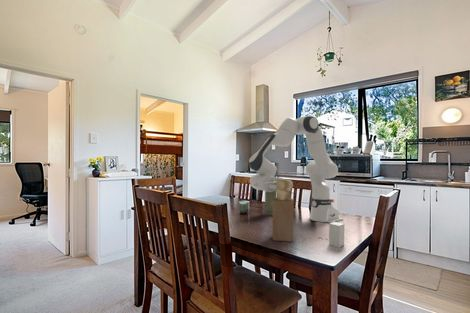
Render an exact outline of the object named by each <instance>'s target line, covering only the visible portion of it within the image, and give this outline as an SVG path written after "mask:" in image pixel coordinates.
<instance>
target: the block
mask: <svg viewBox="0 0 470 313" xmlns="http://www.w3.org/2000/svg"><path fill="white" fill-rule="evenodd" d="M294 206H295V205H294V200H293V198H292V197H291V198H290V200H279V199H276V198H274V200H273V216H272V241H275V242H288V243H293V241H294Z"/></svg>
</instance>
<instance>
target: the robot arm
mask: <svg viewBox="0 0 470 313" xmlns="http://www.w3.org/2000/svg"><path fill="white" fill-rule="evenodd" d="M299 135H301V136H302V135H305V141H306V146H307V150H308V155H309V156H310V157H311V158H312V159H313V160H314V161H311V162H309V163H307V164H306V166H305V173H306V174H307V175H308V177H309V179H310V183H311V200H310V201H311V209H310V214H309V220H310V221H313V222H314V221H315V222H320V223H332V222H339V221H343V218H344V217H341V216H340V212H339V209H337V208H336V207H335V206H334V205H333V204H332V203H334V202H335V199H330V194H331V193H330V191H331V190H330V186H329V184H327V181H326V180H327V179H333V178H335V177H337V175H338V173H339V168H338V166H337V164H336V163H334V162H333V160H332V159H331V158H330V155H329V154H328V151H327V148H326V144H325V139H324V138H325V137H324V133H323V132H322V129H321V127H320V126H319V120H318V118H317V117H316V116H314V115H306V116H300V117H298V118H293V117H287V118H285V119H284V120H283V121H282V122H281V124H280V126H279V127H278V128H277V131H276V132H275V133H273V132H272V133H271V134H269V135H268V136H267V137H266V138H265V139H264V141H263V142H262V144H260V146H259V147H258V149H256V151H255V152H254V153H253V154H252V155H251V156H250V157H249V160H248V167H249V168H250V169H251V170H252V171H254V172H256V174H253V175H251V176H250V178H249V183H250V184H249V185H250V186H251V187H252V188H253V189H255V190H258V191H263V192H265V191H266V192H272V191H275V190H277V188H278V186H277V179H283V178H282V177H279V178H277V173H278V167H277V165H275V164H274V163H273V162H271V161H270V160H268V158H266V157H265V154H266V153H267V152H268V151H269V149H270V148H271V147H272V146H277V147H278V148H279V147H281V148H286V147H289V146H290V145H291V144H292V142H293V140H294V138H295V137H296V136H299ZM293 184H294V182H293V181H292V180H291V189H292V188H293V186H294V185H293Z"/></svg>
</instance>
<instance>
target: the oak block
mask: <svg viewBox="0 0 470 313" xmlns="http://www.w3.org/2000/svg"><path fill="white" fill-rule="evenodd" d="M291 181H292V180H291V179H285V178H282V179H277V186H278V188H277V191H276V199H279V200H290V198H291V199H292V197H291V191H292V188H291Z"/></svg>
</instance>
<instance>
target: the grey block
mask: <svg viewBox="0 0 470 313" xmlns="http://www.w3.org/2000/svg"><path fill="white" fill-rule="evenodd" d="M328 223H329V222H328ZM328 228H329V229H328V231H329V233H328V245H329V246H333V247H336V248H341V247H342V246H345V223H342V222H338V221H336V222H332V223H329V224H328Z"/></svg>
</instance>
